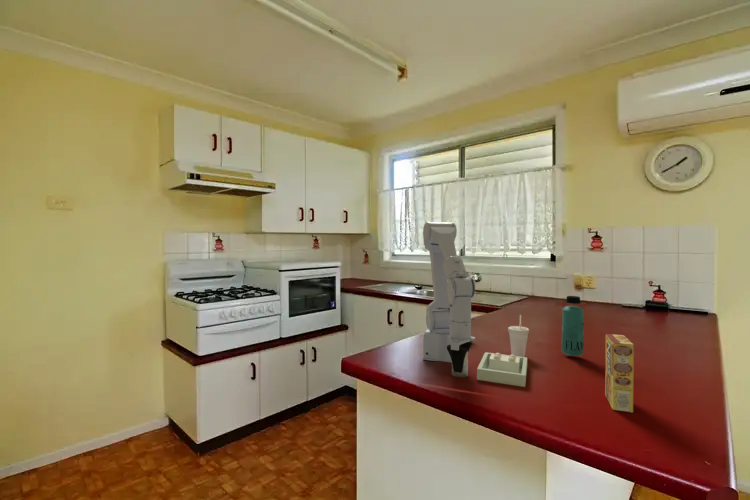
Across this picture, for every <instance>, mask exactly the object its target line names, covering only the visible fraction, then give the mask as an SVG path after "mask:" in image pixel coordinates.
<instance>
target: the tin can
mask: <svg viewBox="0 0 750 500" xmlns="http://www.w3.org/2000/svg"><path fill="white" fill-rule="evenodd" d="M451 375H452V376H453V377H456V378H466V377H468V376H469V352H468V351H467V353H466V356H465V359H464V365H463V370H462V373H459V372H454V370H453V365H452V364H451Z"/></svg>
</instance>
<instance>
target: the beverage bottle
mask: <svg viewBox="0 0 750 500" xmlns="http://www.w3.org/2000/svg"><path fill="white" fill-rule="evenodd" d="M565 299H566V300H565V302H566V303H567V304H575V305H566V306H564V307H562V308H561V309H562V319H561V320H562V321H561V322H562V323H561V325H562V326H561V329H562V330H561V352H562V354H564V355H567V356H572V357H573V356H574V357H579V356H583V354H584V349H585V348H584V347H585V343H584V337H585V335H584V330H585V322H584V320H585V319H584V316H585V315H584V313H585V310H584V309H583V308H582V307H580V306H577V305H578V304H581V297H580V296H578V295H577V296H576V295H567V296H566V298H565ZM576 304H577V305H576Z"/></svg>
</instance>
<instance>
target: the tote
mask: <svg viewBox="0 0 750 500" xmlns="http://www.w3.org/2000/svg"><path fill="white" fill-rule="evenodd" d="M491 354H494V355H495V353H494V352H486V351H485V352H484V354H483V356H482V357H481V360H480V363H479V364H478V366H477V369H476V380H478V381H482V382H491V383H496V384H504V385H510V386H516V387H523V388H525V387H526V382H527V373H528V357H520V356H515V357H518V358H520V369H519V373H513V372H506V371H499V370H491V369H489V359H490V356H491ZM500 354H501V353H500ZM501 355H502V356H509V355H510V354H504V353H503V354H501Z"/></svg>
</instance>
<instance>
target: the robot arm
mask: <svg viewBox="0 0 750 500" xmlns="http://www.w3.org/2000/svg"><path fill="white" fill-rule="evenodd" d="M422 230H423V231H422V236H423V237H422V238H423V246H424V249H425V250H427V251H428V252H429V257H430V266H431V280H432V290H433V301H431V302H430V303H429V304H428V305H427V307H426V309H425V310H426V311H425V312H426V314H425V324H426V328H427V329H425V331H424V333H423V340H422V341H423V343H422V344H423V345H422V347H423V349H422V350H423V353H422V355H423V357H422V360H425V361H431V362H436V361H438V362H439V361H440V362H444V363H446V362H447V363H451V366H452V365H453V370H454V372H459V373H462V370H463V365H464V359H465V356H466V353H467V351H468V353H469V351H470V349H471V347H472V344H473V342H475V340H476V337H475V336H472V334H471V333H472V330H471V329H472V298H473V297H474V296H475V293H476V283H475V279H474V278H473V277H472V276H470V274H469V273H467V271H466V266H465V264H464V262H463V259H462V258H461V257H460V256H458V255H457V250H456V245H455V241H456V238H457V234H458V229H457V225H456V224H455V222H454V221H450V222H446V221H445V222H443V221H442V222H439V221H438V222H437V221H434V222H432V221H431V222H430V221H425V223H424V224H423V229H422Z"/></svg>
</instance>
